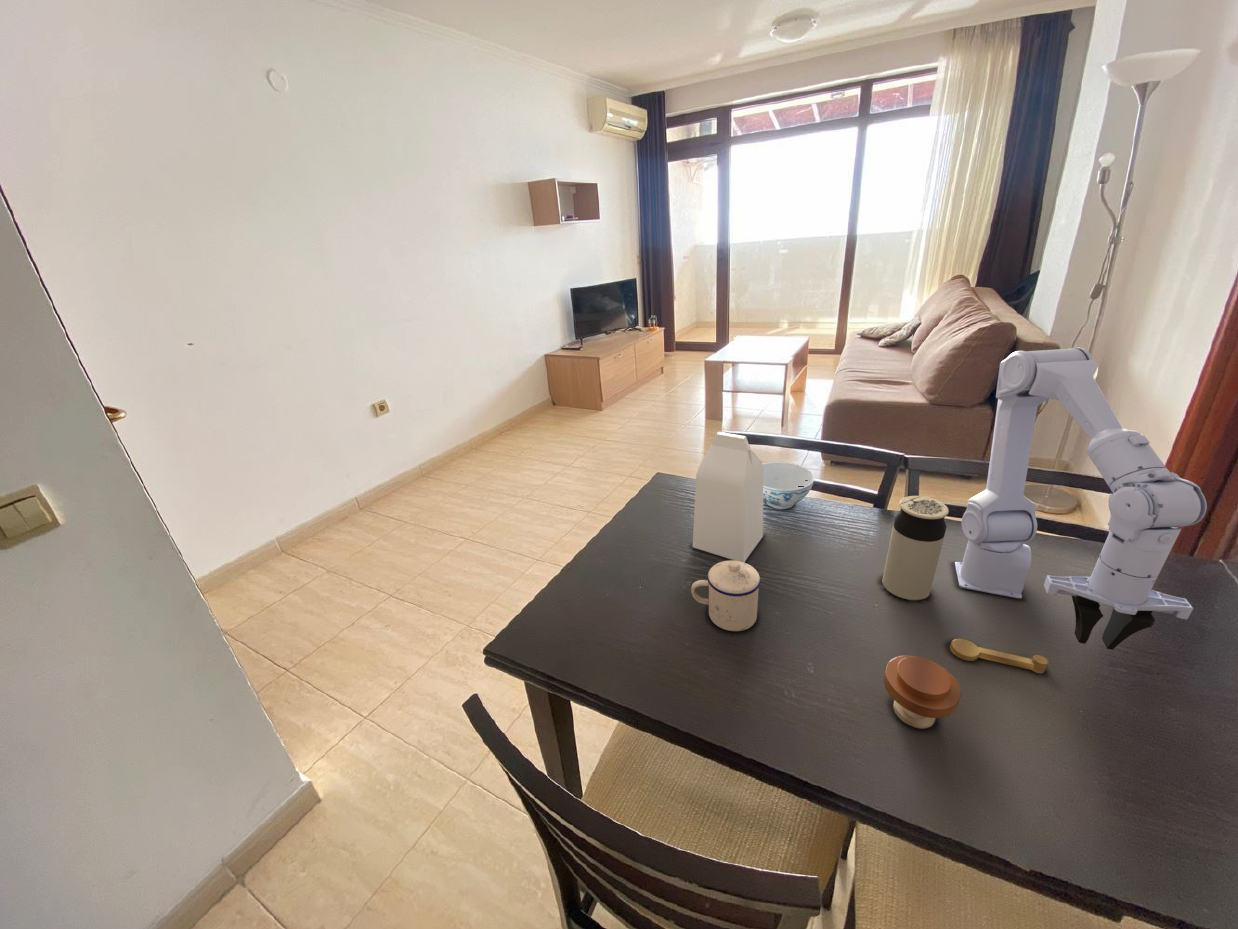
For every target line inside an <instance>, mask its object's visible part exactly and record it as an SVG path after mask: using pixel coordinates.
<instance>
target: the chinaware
mask: <svg viewBox="0 0 1238 929" xmlns="http://www.w3.org/2000/svg"><path fill="white" fill-rule="evenodd" d="M762 464H763V501H764V502H765V503H766V504H767V506H769V507H771V508H774V509H776V510H777V509H778V510H786V509H790V508H792V507H793V506H794V505H795V504H797V503H799V502H801V501H802V500H803V499H805V498H806V497H807V495H808V494H810V491H811V490H812V488H813V486H814V482H815V475H814V473H813V472H812V470H810V469H808V468H806V467H804V466H802V465H799V464H795V463H792V462H786V461H785V462H783V461H782V462H781V461H772V462H765V463H762ZM805 480H808V481H805ZM798 486H804V487H798Z"/></svg>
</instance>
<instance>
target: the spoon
mask: <svg viewBox="0 0 1238 929" xmlns="http://www.w3.org/2000/svg"><path fill="white" fill-rule="evenodd" d="M949 649H950V652H951V653H952V654H953V655H954V656H955V657H957V658H958V659H961V660H963V661H967V662H975V661H976V660H978V659H983V660H987V661H991V662H995V663H998V664H999V663H1000V664H1002V665H1003V664H1004V665H1008V666H1013V667H1016V668H1020V669H1025V670H1030V671H1032V672H1034V673H1037V674H1044V673H1045V671H1046V669H1047V666H1048V664H1049V660H1048V659H1047V658H1046V657H1044V656H1043V655H1040V654H1034V655H1033V656H1032V657H1031V658H1028V657H1024V656H1020V655H1016V654H1012V653H1007V652H1003V651H998V650H993V649H989V648H985V647H979V646H977V645H976V643H974V642H972V641H970V640H967V639H965V638H955V639H953V640H952V641H951V643H950V646H949Z"/></svg>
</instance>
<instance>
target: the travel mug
mask: <svg viewBox="0 0 1238 929" xmlns="http://www.w3.org/2000/svg"><path fill="white" fill-rule="evenodd" d="M898 505H899V508H900V510H899V511H898V512H897V513H896V514H895V515H894V520H893V525H892V528H891V535H890V538H889V539H890V540H889V545H888V550H887V555H886V559H885V560H886V561H885V565H884V570H883V575H882V580H881V582H882V586H883V587H884V588H885V589H886V590H887V592H889V593H890V594H892V595H894V596H896V597H898V598H900V599H901V598H902V599H906V600H909V601H920V600H924V599H927V598H928V597H929V596H930V594H931V591H932V588H933V583H934V578H935V574H936V570H937V568H938V567H937V566H938V562H939V560H940V555H941V551H942V548H943V543H944V539H945V535H946V531H947V524H946V521H945V518H946V517H947V516H948V515H949V512H950V510H949V507H948V506H947V505H946V504H944V503H943V502H942V501H940V500H938V499H935V498H932V497H929V496H924V495H923V496H922V495H909V496H905V497H903V498H901V499H900V500H899V502H898Z"/></svg>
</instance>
